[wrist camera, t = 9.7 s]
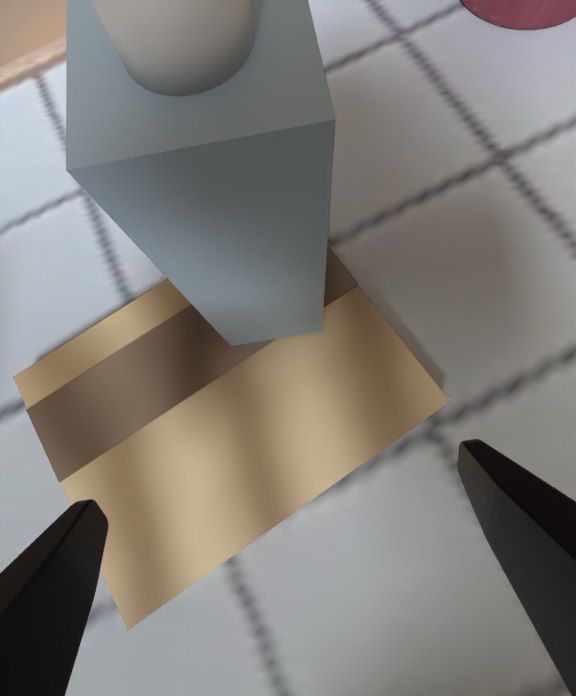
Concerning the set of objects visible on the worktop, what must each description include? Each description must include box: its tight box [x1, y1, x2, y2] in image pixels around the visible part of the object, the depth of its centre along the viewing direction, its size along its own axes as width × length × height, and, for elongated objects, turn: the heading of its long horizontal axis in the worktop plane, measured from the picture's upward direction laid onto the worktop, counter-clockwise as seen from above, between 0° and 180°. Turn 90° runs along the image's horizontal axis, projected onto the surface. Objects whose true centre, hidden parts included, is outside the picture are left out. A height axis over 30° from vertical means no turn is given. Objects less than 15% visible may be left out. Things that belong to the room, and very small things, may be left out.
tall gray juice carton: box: [66, 0, 335, 346], centre depth 12 cm, size 4×4×13 cm
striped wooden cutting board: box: [13, 246, 450, 630], centre depth 18 cm, size 17×13×1 cm
